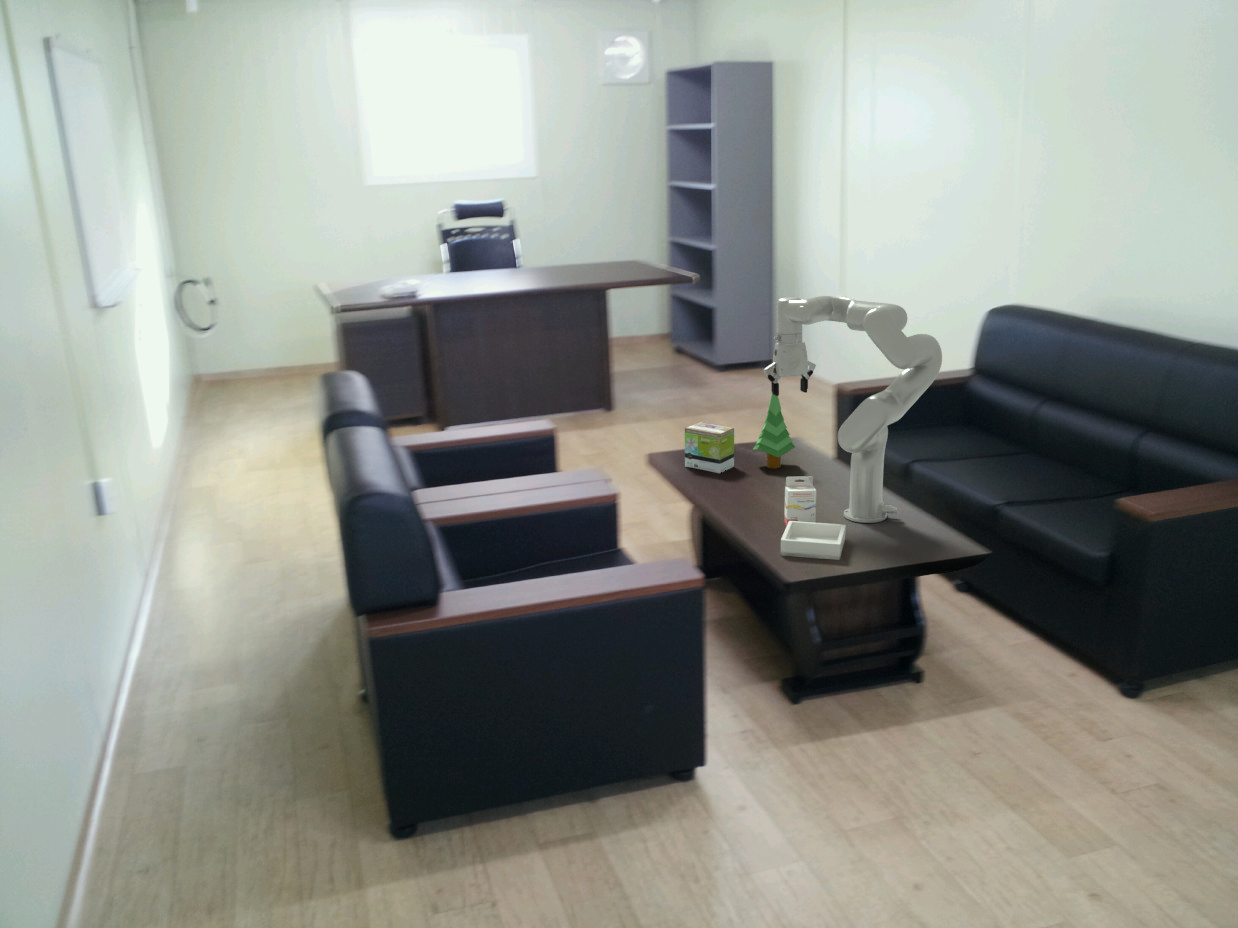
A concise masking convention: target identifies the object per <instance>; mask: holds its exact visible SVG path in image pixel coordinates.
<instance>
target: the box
mask: <svg viewBox="0 0 1238 928" xmlns="http://www.w3.org/2000/svg"><path fill="white" fill-rule="evenodd" d="M846 526H847V525H846V524H840V523H829V522H828V523H827V522H815V523H814V522H800V521H789V522H788V524H787V527H786V526H785V530H784V532H783V534H782V536H781V538H780V556H783V557H798V558H811V559H821V560H823V559H824V560H836V561H840V560H841V556H842V552H843V549H844V546H845V541H846V531H847V530H846Z"/></svg>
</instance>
